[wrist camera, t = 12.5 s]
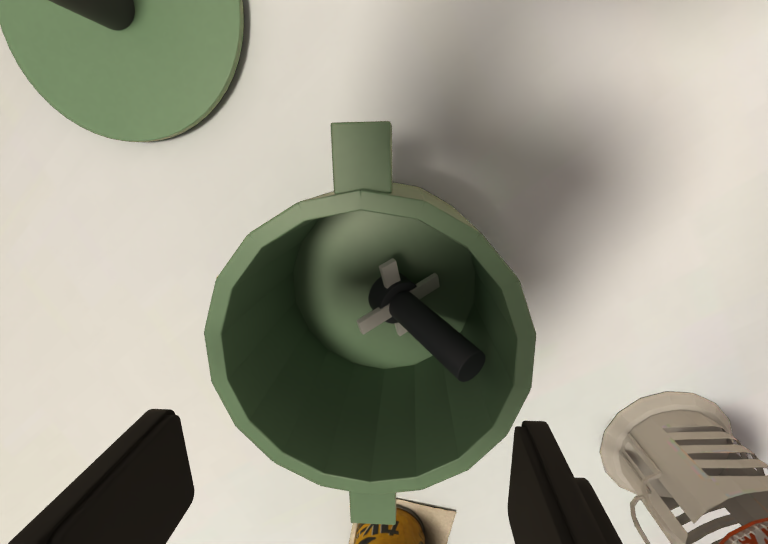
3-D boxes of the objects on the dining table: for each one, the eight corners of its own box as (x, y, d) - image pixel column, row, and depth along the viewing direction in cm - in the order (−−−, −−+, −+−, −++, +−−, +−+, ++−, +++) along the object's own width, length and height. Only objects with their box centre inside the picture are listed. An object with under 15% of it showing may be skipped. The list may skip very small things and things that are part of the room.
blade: (335, 279, 24) (415, 364, 18) (417, 233, 26) (515, 295, 20) (360, 346, 28) (433, 433, 22) (429, 301, 30) (514, 370, 24)
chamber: (296, 401, 31) (233, 530, 20) (273, 142, 26) (171, 124, 15) (478, 406, 30) (517, 543, 19) (492, 137, 25) (557, 114, 14)
